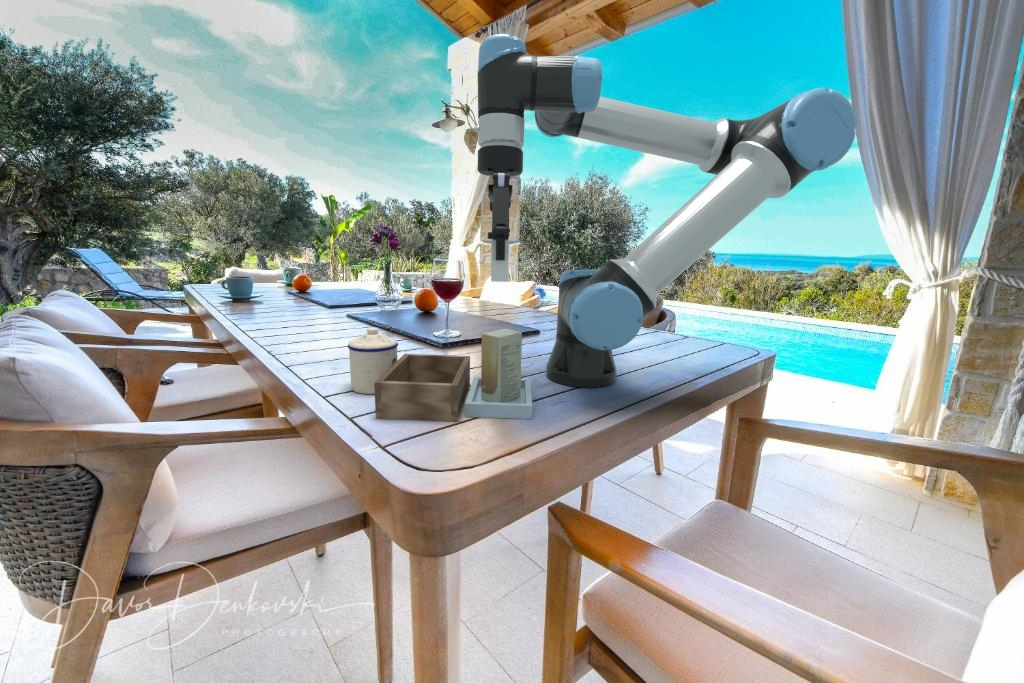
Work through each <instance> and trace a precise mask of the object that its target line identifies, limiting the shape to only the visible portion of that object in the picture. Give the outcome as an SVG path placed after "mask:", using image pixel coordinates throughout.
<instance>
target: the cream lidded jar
mask: <svg viewBox="0 0 1024 683" xmlns="http://www.w3.org/2000/svg"><path fill="white" fill-rule="evenodd" d="M398 346H399V343H398V340H397V339H395V338H394V337H391V336H388V335H385V334H384V333H382V332H379V328H377V327H369V328H367V330H366V333H363V334H361V335H360V336H359V337H356V338H352V339H351V340H349V342H348V344H347V348H348V353H349V370H350V388H351V390H352V391H354V392H356V393H357V394H362V395H375V387H374V383H375V382H376V381H377V380H378V379H379V378H380V377H381V376H382V375H383V374H384V373H385V372H386V371H387V370H388V369H389V368H390V367H391V366H392V365H393V364H395V363H396V362H397V361H398Z"/></svg>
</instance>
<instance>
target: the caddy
mask: <svg viewBox="0 0 1024 683" xmlns="http://www.w3.org/2000/svg"><path fill="white" fill-rule="evenodd" d="M470 381H471V355H451V354H450V355H448V354H425V353H403V355H402V356H401V357H400V358H398V359H397V362H396V363H395V364H393V365H392V366H391V367H390V368H389V369H388V370H387V371H386V372H385V373H384V374H383V375H382V376H381V377H380V378H379V379H378V380H377V381H376V382H375V383H374V387H375V394H374V404H375V405H374V407H375V408H374V410H375V419H381V420H382V419H384V420H409V421H433V422H435V421H436V422H458V420H459V417H460V414H461V412H462V409H461V408H463V406H462V405H464V404H465V401H466V398H467V395H468V392H469V389H470V386H471V382H470ZM469 385H470V386H469ZM468 388H469V389H468ZM460 411H461V412H460Z"/></svg>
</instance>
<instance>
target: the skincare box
mask: <svg viewBox="0 0 1024 683" xmlns="http://www.w3.org/2000/svg"><path fill="white" fill-rule="evenodd" d="M522 342H523V332H522V331H519V330H515V329H508V328H500V329H497V330H492V331H487V332H482V333H481V364H480V365H481V369H480V370H481V371H480V372H481V374H480V377H481V399H483V400H485V401H488V402H497V403H505V402H507V401H510V400H512V399H515V398H517V397H519V396H520V390H521V379H522V352H523V351H522V350H523V349H522V347H523V345H522V344H523V343H522Z"/></svg>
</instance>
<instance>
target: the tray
mask: <svg viewBox="0 0 1024 683" xmlns="http://www.w3.org/2000/svg"><path fill="white" fill-rule="evenodd" d="M531 386H532V385H531V379H530V378H521V390H520V396H519V397H517V398H515V399H512V400H510V401H507V402H505V403H497V402H488V401H485V400H483V399H481V376H480V377H479V376H473V378H472V382H471V383H470V386H469V389H468V392H467V395H466V398H465V401H464V417H466V418H490V419H495V418H496V419H514V420H516V419H517V420H532V419H533V398H532V388H531Z"/></svg>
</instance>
